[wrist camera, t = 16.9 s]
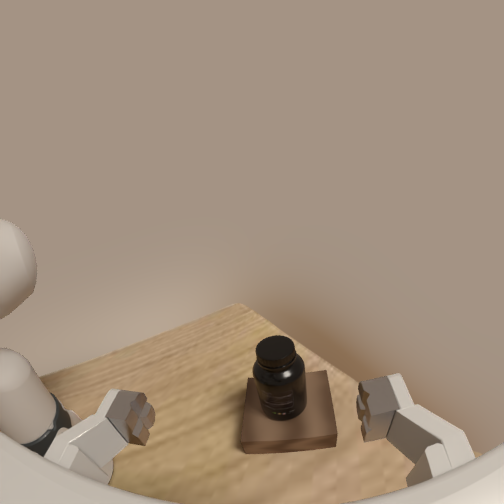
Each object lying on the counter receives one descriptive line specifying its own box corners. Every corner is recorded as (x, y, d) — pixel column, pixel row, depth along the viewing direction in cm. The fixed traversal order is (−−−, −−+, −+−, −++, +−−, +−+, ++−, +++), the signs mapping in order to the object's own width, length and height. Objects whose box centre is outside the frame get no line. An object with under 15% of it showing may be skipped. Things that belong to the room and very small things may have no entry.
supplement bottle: (265, 387, 41) (253, 329, 37) (308, 388, 39) (305, 328, 35) (257, 421, 34) (241, 364, 30) (305, 423, 33) (301, 365, 29)
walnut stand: (245, 453, 33) (240, 441, 31) (251, 392, 45) (248, 377, 44) (335, 446, 31) (337, 433, 30) (326, 385, 43) (326, 370, 42)
